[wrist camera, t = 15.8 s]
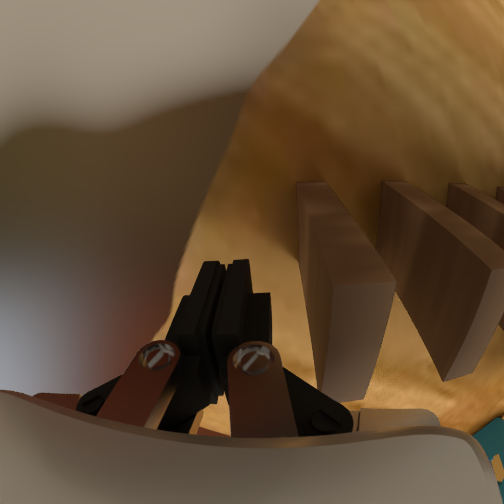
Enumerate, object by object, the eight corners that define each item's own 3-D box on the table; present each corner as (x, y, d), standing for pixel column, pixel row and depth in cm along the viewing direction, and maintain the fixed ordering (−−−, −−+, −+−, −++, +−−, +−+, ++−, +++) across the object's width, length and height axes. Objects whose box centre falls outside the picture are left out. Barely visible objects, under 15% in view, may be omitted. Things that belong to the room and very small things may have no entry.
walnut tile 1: (324, 181, 15) (396, 281, 6) (324, 261, 17) (363, 399, 8) (296, 182, 15) (333, 287, 6) (298, 262, 17) (319, 404, 9)
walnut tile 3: (466, 184, 14) (576, 255, 5) (454, 252, 16) (536, 346, 8) (449, 182, 14) (563, 258, 5) (438, 253, 17) (519, 354, 8)
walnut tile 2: (405, 181, 15) (521, 265, 6) (397, 256, 17) (472, 372, 8) (381, 180, 15) (491, 269, 6) (375, 257, 17) (442, 381, 8)
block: (503, 411, 30) (531, 487, 12) (508, 412, 31) (535, 483, 13) (458, 445, 35) (477, 519, 17) (466, 445, 36) (485, 514, 18)
